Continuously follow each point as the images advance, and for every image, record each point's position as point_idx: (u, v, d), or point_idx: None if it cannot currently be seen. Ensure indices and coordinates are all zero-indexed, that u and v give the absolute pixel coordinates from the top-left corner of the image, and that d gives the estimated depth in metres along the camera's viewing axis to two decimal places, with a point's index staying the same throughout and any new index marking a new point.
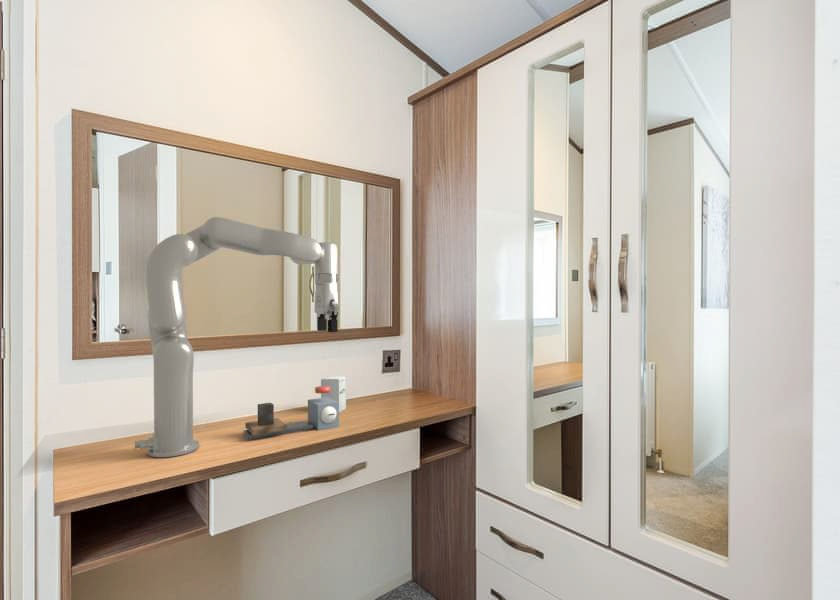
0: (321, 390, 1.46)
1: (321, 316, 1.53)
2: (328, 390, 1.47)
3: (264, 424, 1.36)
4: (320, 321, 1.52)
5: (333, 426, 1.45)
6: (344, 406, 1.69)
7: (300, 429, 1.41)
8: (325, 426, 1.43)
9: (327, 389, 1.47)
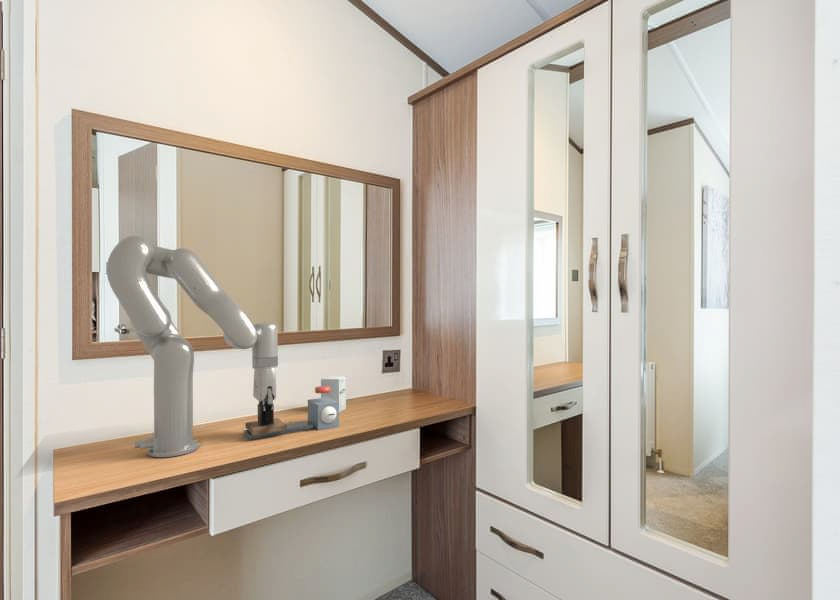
0: (321, 390, 1.46)
1: None
2: (328, 390, 1.47)
3: (264, 424, 1.36)
4: None
5: (333, 426, 1.45)
6: (344, 406, 1.69)
7: (300, 429, 1.41)
8: (325, 426, 1.43)
9: (327, 389, 1.47)
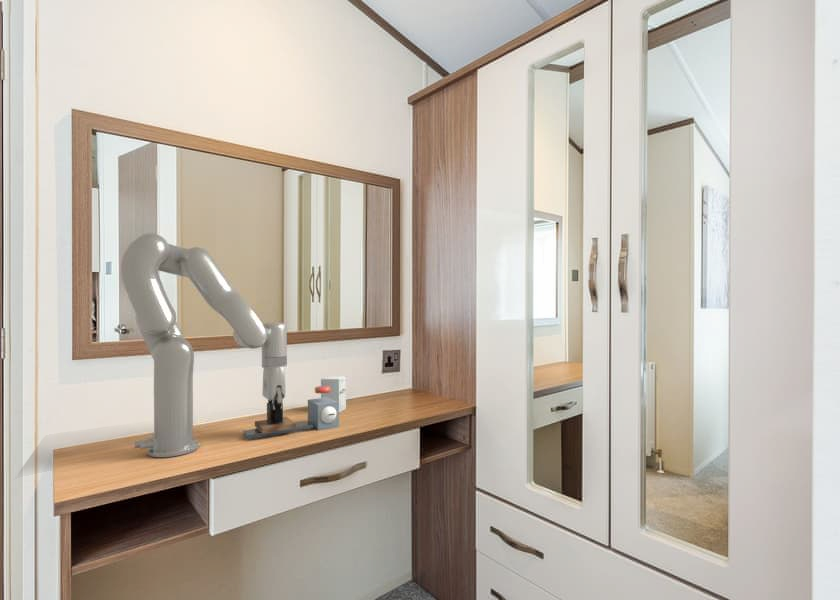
0: (321, 390, 1.46)
1: None
2: (328, 390, 1.47)
3: (273, 423, 1.38)
4: None
5: (333, 426, 1.45)
6: (344, 406, 1.69)
7: (300, 429, 1.41)
8: (325, 426, 1.43)
9: (327, 389, 1.47)
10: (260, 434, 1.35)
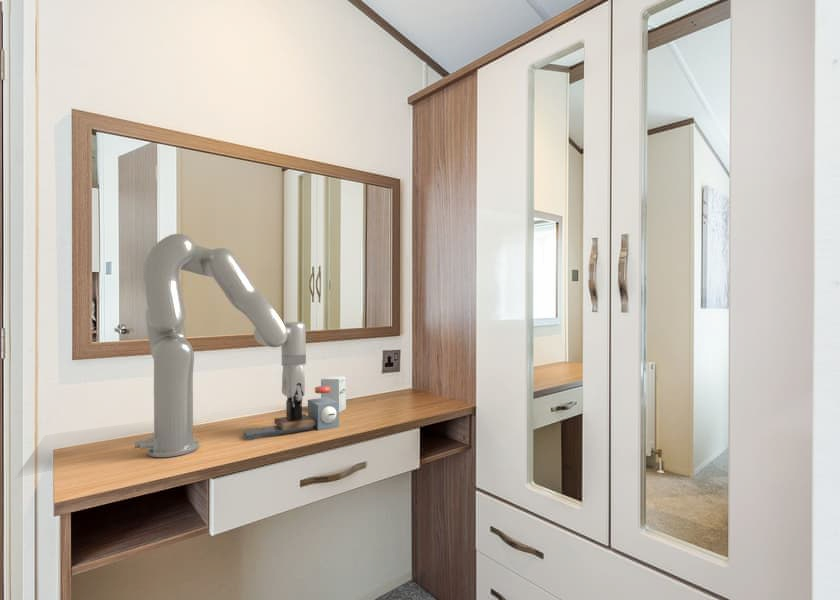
0: (321, 390, 1.46)
1: (292, 400, 1.45)
2: (328, 390, 1.47)
3: (293, 420, 1.41)
4: None
5: (333, 426, 1.45)
6: (344, 406, 1.69)
7: (300, 429, 1.41)
8: (325, 426, 1.43)
9: (327, 389, 1.47)
10: (260, 434, 1.35)
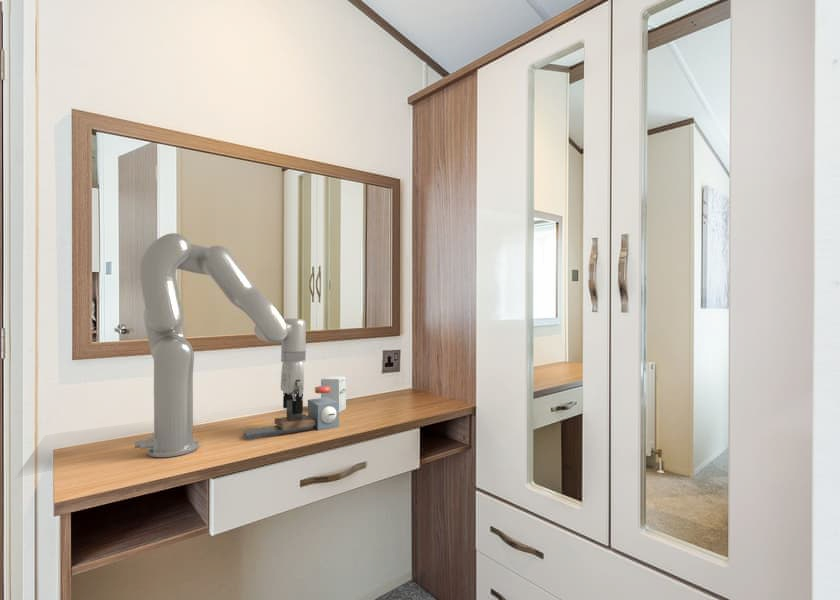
0: (321, 390, 1.46)
1: None
2: (328, 390, 1.47)
3: (293, 420, 1.41)
4: (286, 398, 1.46)
5: (333, 426, 1.45)
6: (344, 406, 1.69)
7: (300, 429, 1.41)
8: (325, 426, 1.43)
9: (327, 389, 1.47)
10: (260, 434, 1.35)
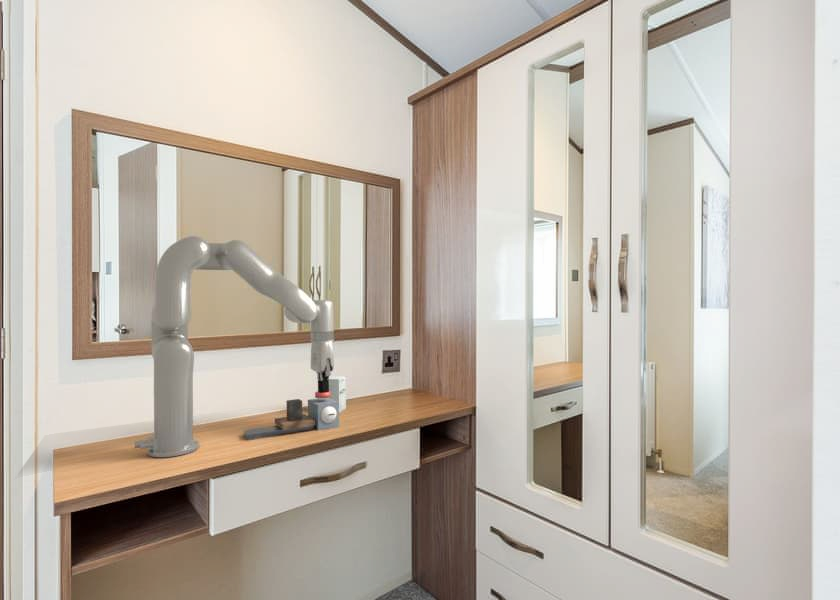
0: (321, 395, 1.46)
1: None
2: (328, 395, 1.47)
3: (293, 420, 1.41)
4: None
5: (333, 426, 1.45)
6: (344, 406, 1.69)
7: (300, 429, 1.41)
8: (325, 426, 1.43)
9: (327, 394, 1.47)
10: (260, 434, 1.35)
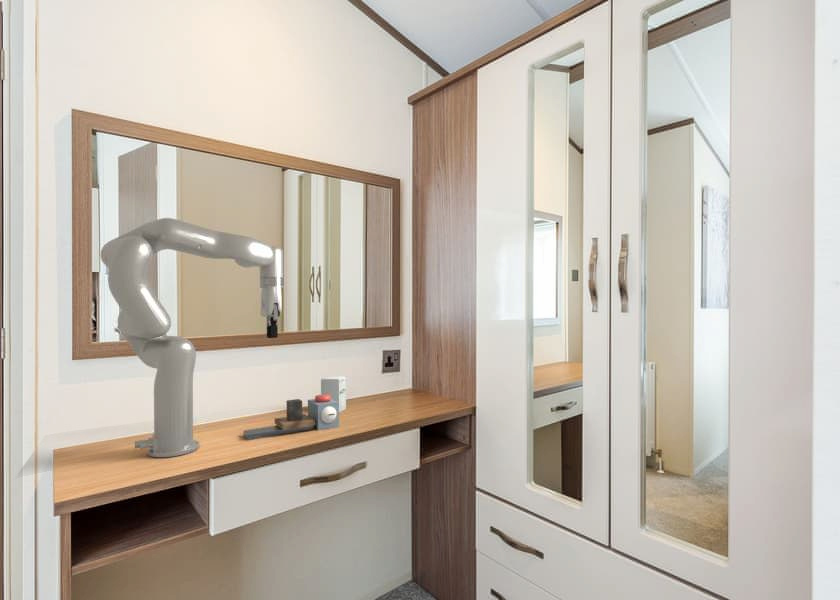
0: (321, 399, 1.46)
1: None
2: (328, 399, 1.47)
3: (293, 420, 1.41)
4: None
5: (333, 426, 1.45)
6: (344, 406, 1.69)
7: (300, 429, 1.41)
8: (325, 426, 1.43)
9: (327, 398, 1.47)
10: (260, 434, 1.35)
